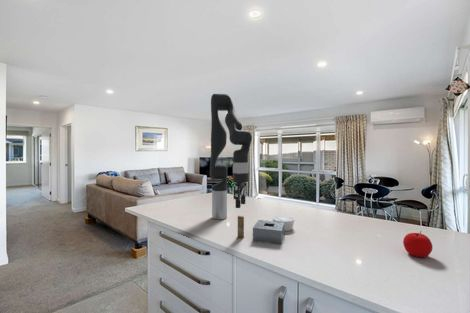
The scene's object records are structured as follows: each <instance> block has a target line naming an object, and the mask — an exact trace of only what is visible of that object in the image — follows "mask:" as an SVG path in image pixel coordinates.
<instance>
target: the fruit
mask: <svg viewBox="0 0 470 313" xmlns="http://www.w3.org/2000/svg"><path fill="white" fill-rule="evenodd" d="M402 244H403V247H404V249H405V251H406V252H407V253H408V254H409V255H410V256H413V257H416V258H427V257H428V256H429V255H430V254H431V253H432V251H433V244H432V241H431V239H430V238H429V237H428V236H427V235H425V234H423V233H422V230H420V231H419V232H410V233H407V234H406V235H405V236H404V237H403V241H402Z"/></svg>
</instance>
